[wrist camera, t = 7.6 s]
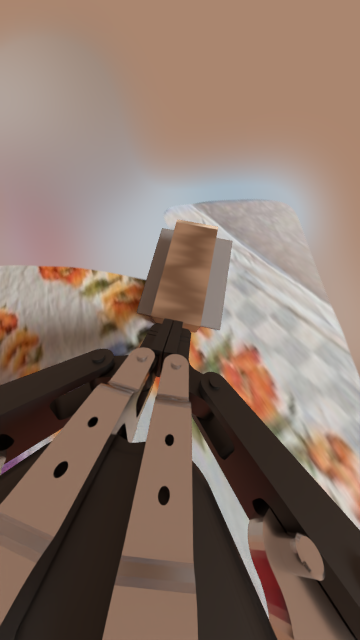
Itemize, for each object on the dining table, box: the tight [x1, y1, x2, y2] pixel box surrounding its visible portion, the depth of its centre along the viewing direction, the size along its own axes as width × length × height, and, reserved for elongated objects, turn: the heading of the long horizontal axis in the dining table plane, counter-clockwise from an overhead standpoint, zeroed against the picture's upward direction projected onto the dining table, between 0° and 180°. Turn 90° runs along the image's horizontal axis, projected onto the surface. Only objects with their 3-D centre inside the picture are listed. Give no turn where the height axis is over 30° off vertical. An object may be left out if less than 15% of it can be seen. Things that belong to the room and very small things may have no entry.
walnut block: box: [151, 220, 218, 332], centre depth 17 cm, size 5×4×12 cm
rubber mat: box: [137, 228, 232, 330], centre depth 19 cm, size 11×14×1 cm
